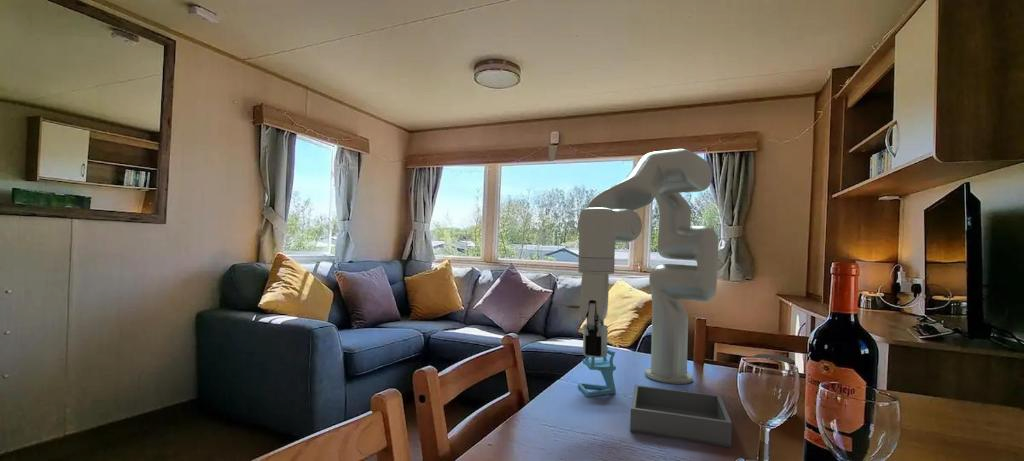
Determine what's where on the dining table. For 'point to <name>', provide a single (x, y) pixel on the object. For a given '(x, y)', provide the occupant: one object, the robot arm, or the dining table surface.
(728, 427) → the bin
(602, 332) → the pale green capsule
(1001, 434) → the dining table surface
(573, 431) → the dining table surface
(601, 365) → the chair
